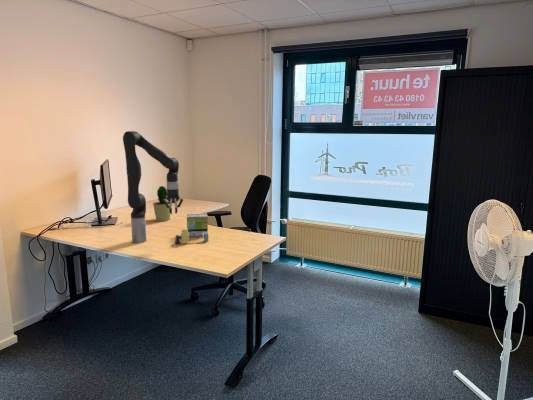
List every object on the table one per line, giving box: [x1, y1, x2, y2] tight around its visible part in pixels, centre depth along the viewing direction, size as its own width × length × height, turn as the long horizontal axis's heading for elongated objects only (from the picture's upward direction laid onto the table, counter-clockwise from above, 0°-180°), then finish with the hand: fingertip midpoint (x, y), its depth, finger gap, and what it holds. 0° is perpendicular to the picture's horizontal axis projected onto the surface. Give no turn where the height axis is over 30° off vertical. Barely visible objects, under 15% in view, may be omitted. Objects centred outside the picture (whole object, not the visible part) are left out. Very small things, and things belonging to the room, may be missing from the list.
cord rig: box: [174, 231, 209, 246], centre depth 258 cm, size 22×6×6 cm, turn 108°
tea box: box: [186, 213, 209, 235], centre depth 276 cm, size 15×10×15 cm
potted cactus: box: [152, 185, 172, 222], centre depth 319 cm, size 15×15×30 cm
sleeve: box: [180, 228, 190, 243], centre depth 256 cm, size 5×5×8 cm
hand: (173, 213), depth 251 cm, fingers open, 2 cm apart
